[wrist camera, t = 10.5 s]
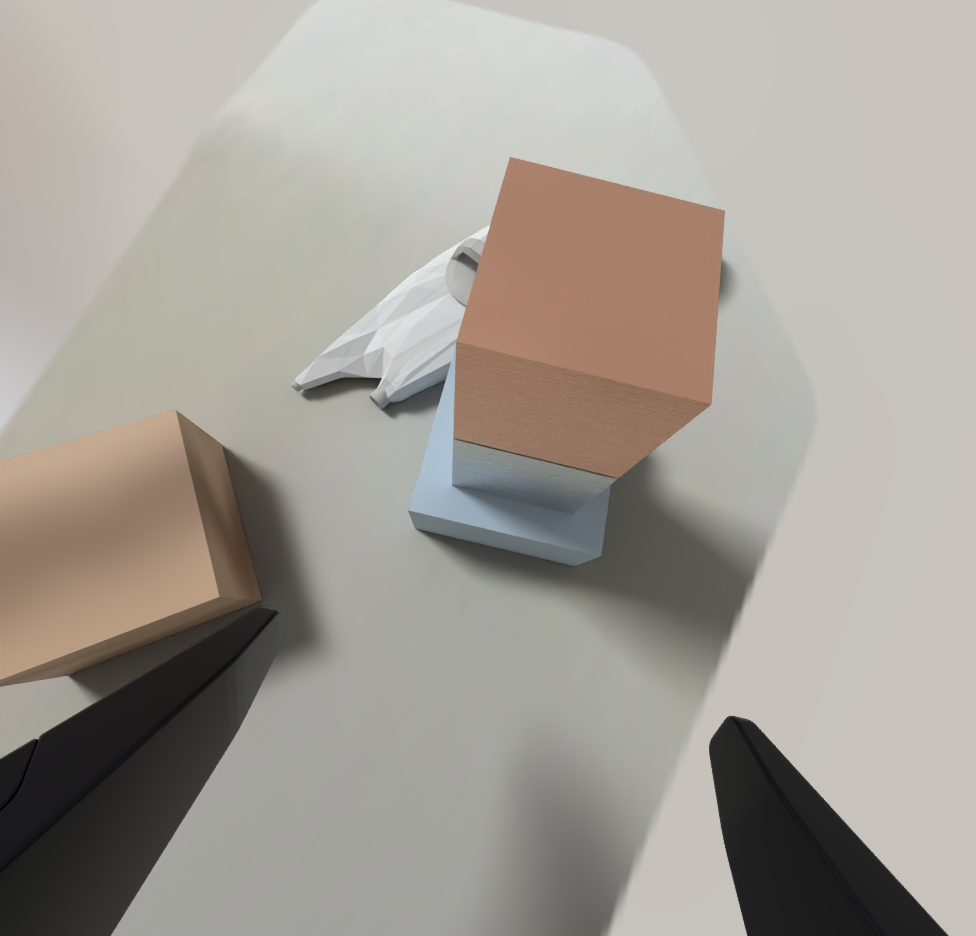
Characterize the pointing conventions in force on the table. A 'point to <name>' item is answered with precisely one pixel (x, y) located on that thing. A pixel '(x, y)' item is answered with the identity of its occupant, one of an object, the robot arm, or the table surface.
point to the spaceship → (406, 330)
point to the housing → (582, 335)
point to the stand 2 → (498, 506)
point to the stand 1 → (116, 546)
